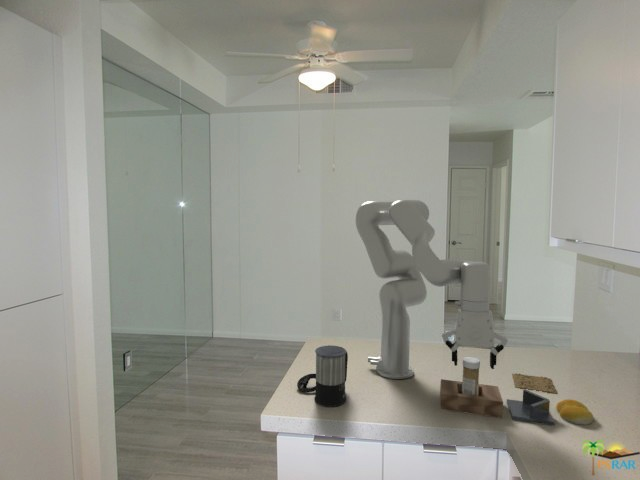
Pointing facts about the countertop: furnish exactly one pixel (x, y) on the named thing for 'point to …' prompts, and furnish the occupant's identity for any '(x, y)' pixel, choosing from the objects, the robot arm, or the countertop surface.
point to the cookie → (534, 383)
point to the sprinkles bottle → (470, 376)
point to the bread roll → (574, 412)
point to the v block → (531, 409)
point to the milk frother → (328, 376)
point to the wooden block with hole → (471, 399)
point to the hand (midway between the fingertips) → (473, 365)
